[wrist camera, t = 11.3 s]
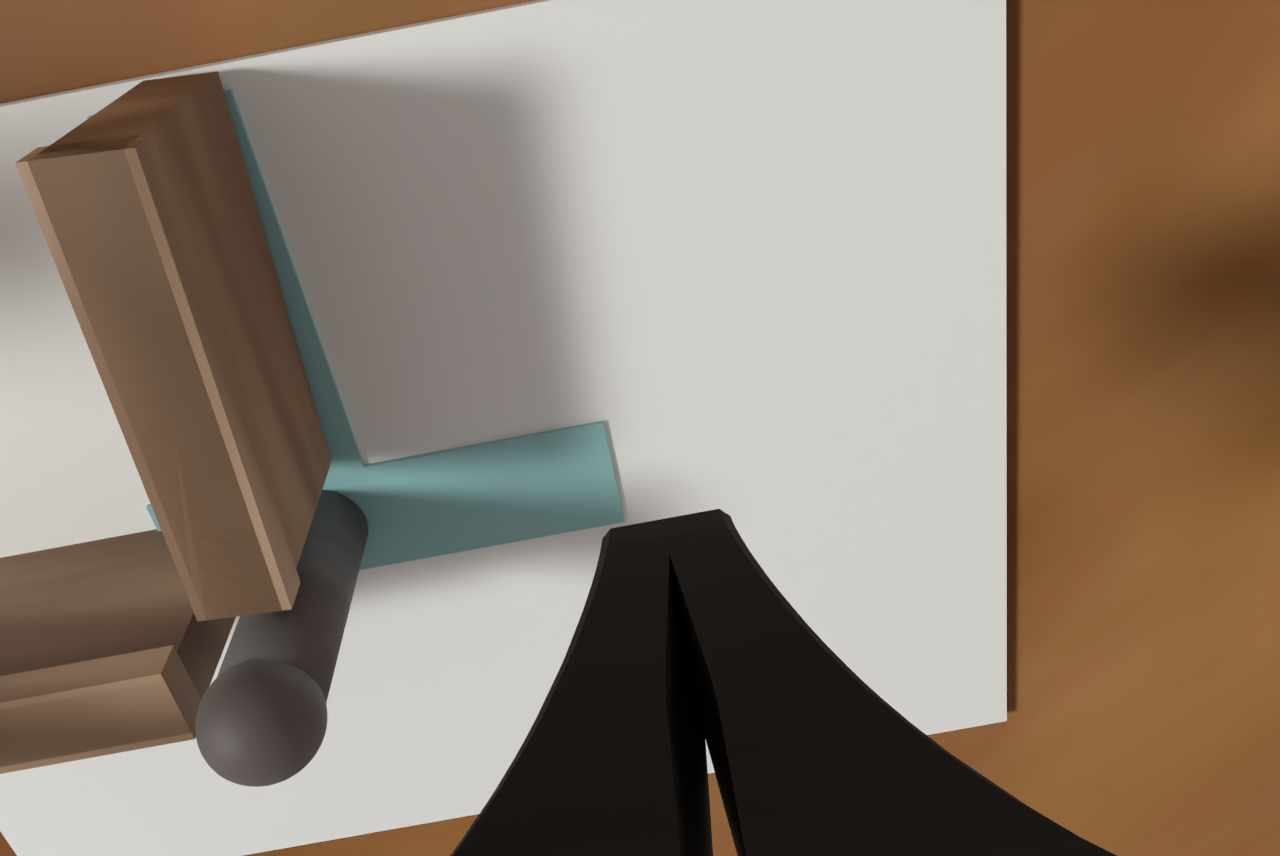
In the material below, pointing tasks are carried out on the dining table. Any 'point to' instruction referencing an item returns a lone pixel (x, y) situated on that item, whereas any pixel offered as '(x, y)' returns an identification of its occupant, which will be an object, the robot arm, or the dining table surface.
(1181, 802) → the dining table surface
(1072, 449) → the dining table surface
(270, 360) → the fence panel
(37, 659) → the cylinder
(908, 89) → the card
